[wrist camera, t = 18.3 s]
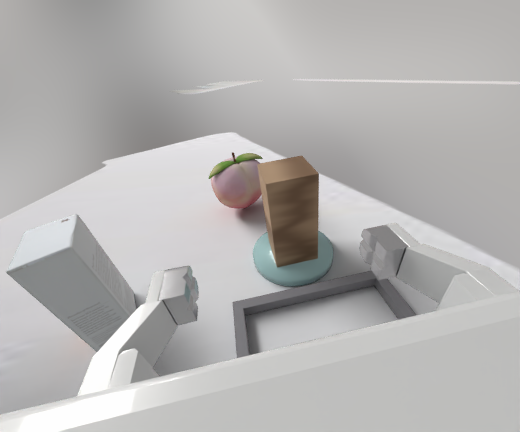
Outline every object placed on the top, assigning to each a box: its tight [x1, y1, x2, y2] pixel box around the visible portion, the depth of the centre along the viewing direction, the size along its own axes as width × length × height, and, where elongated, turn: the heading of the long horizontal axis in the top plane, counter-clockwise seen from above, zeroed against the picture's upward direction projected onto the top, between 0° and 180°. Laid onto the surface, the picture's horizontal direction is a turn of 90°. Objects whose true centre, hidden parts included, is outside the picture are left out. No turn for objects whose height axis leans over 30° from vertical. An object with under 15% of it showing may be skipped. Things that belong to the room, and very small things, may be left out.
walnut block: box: [257, 156, 319, 267], centre depth 27 cm, size 5×5×11 cm
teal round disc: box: [253, 231, 333, 286], centre depth 30 cm, size 10×10×1 cm
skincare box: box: [7, 214, 136, 352], centre depth 22 cm, size 6×4×12 cm
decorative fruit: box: [209, 153, 263, 208], centre depth 39 cm, size 9×8×10 cm
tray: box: [233, 271, 416, 358], centre depth 19 cm, size 16×14×1 cm
